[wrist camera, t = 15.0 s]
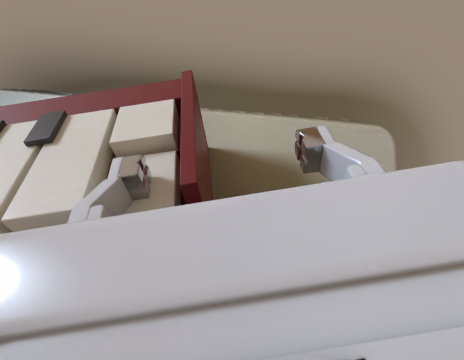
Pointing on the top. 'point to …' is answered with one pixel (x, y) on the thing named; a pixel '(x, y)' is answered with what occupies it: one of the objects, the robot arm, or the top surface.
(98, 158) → the toy piano
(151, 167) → the f key
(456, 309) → the robot arm
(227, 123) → the top surface
